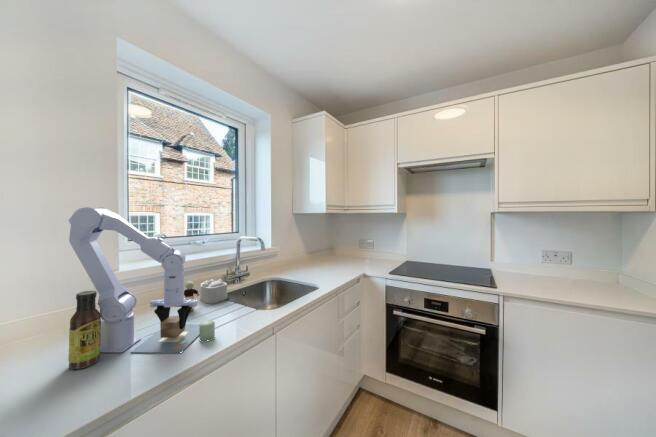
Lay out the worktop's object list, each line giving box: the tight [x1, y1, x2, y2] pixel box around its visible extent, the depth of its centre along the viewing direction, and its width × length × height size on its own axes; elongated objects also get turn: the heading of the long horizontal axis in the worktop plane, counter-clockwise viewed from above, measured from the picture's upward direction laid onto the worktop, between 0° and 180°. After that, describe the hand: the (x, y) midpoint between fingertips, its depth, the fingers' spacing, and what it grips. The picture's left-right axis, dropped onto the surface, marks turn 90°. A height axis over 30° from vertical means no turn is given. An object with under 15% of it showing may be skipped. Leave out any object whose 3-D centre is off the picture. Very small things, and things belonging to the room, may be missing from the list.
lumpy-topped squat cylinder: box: [199, 278, 228, 304], centre depth 120 cm, size 10×13×9 cm
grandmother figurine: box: [184, 280, 200, 312], centre depth 105 cm, size 8×4×13 cm, turn 143°
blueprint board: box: [130, 323, 200, 354], centre depth 82 cm, size 15×18×1 cm
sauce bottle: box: [68, 290, 102, 370], centre depth 68 cm, size 6×6×20 cm
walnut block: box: [159, 315, 185, 338], centre depth 82 cm, size 5×5×5 cm
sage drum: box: [198, 320, 216, 342], centre depth 83 cm, size 5×5×5 cm
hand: (174, 327), depth 82 cm, fingers closed on walnut block, 5 cm apart
